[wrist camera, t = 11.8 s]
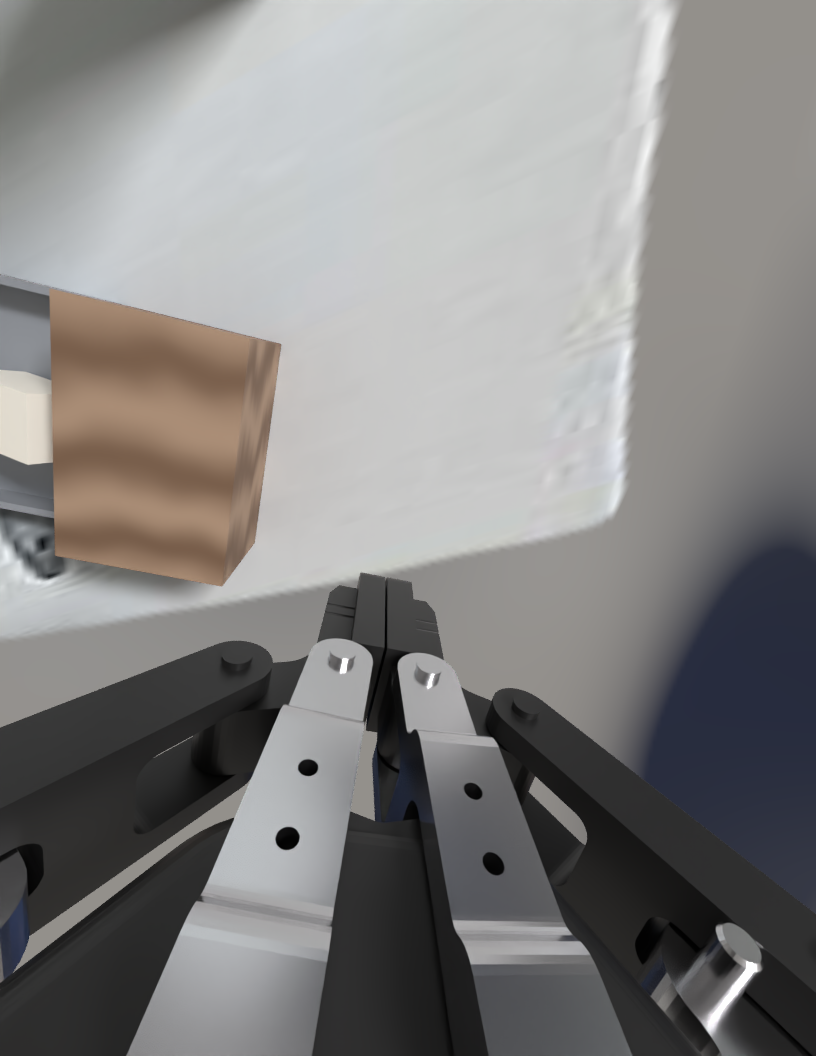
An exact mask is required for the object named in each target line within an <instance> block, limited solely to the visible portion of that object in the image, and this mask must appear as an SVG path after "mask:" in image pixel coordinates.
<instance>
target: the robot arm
mask: <svg viewBox="0 0 816 1056" xmlns="http://www.w3.org/2000/svg"><path fill="white" fill-rule="evenodd" d="M366 718H367V724H366V730H367V731H372V732H377V743H376V747H375V751H374V754H373V758H372V771H373V791H374V812H375V821H373V820H371V819H368V818H366V817H363V816H360V815H358V814H355V813H353V812H350V809H351V803H352V797H353V791H354V784H355V779H356V773H357V766H358V761H359V755H360V749H361V742H362V737H363V730H364V725H365V721H366ZM191 736H193V737H192V738H190V739H188V740H186V739H187V738H189V737H191ZM184 740H186V741H184ZM182 741H184V742H183V743H181V744H179V745H177V746H175V747H173V746H174V745H176V744H178V743H180V742H182ZM171 747H173V748H172V749H169V748H171ZM167 749H169V750H168V751H166V752H164V753H162V754H160V753H161V752H163V751H165V750H167ZM158 754H160V755H158ZM156 755H158V756H157V757H155V756H156ZM154 757H155V758H154ZM535 776H536V777H537V778H538V779H539V780H540V781H541V782H543V783H544V784H545V785H546V786H547V787H548V788H549V789H550V790H551V791H552V792H553V793H554V794H555V795H557V796H558V797H559V798H560V799H561V800H562V801H563V802H564V803H565V804H566V805H567V806H568V807H570V808H571V809H572V810H573V811H574V812H575V813H576V814H577V815H578V816H579V817H580V819H581V820H582V822H583V824H584V826H585V828H586V831H587V843H586V845H584V844H582V843H581V842H580V841H579V840H578V839H577V838H576V837H574V836H573V834H571V832H569V831H568V830H567V829H566V828H565V827H564V826H563V825H562V824H561V823H560V822H559V821H558V820H557V819H556V818H555V817H554V816H553V815H552V814H551V813H550V812H549V811H548V810H547V809H546V808H545V807H544V806H542V805H541V804H540V803H539V802H538V801H537V800H536V799H535V798H534V797H533V796H532V795H531V794H530V793H529V792H528V791H529V789H530V787H531V784H532V782H533V780H534V778H535ZM250 779H251V781H250V783H249V785H248V788H247V790H246V792H245V795H244V797H243V799H242V802H241V804H240V807H239V809H238V811H237V814H236V816H235V818H232V819H229V820H226V821H223V822H220V823H218V824H215V825H213V826H211V827H209V828H207V829H205V830H203V831H201V832H199V833H198V834H196V835H194V836H193V837H191V838H189V839H188V840H186V841H185V842H183V843H182V844H180V845H179V846H178V847H176V848H175V849H174V850H172V851H171V852H170V853H168V854H167V855H166V856H165V857H163V858H162V859H161V860H160V861H158V862H157V863H156V864H154V865H153V866H152V867H150V868H149V869H148V870H146V871H145V872H144V873H143V874H141V875H140V876H139V877H137V878H136V879H135V880H133V881H132V882H131V883H129V884H128V885H127V886H126V887H124V888H123V889H122V890H120V891H119V892H118V893H116V894H115V895H114V896H113V897H111V898H110V899H109V900H107V901H106V902H105V903H103V904H102V905H101V906H100V907H98V908H97V909H96V910H94V911H93V912H92V913H90V914H89V915H88V916H87V917H85V918H84V919H83V920H81V921H80V922H79V923H77V924H76V925H75V926H73V927H72V928H71V929H70V930H68V931H67V932H66V933H65V934H63V935H62V936H60V937H59V938H58V939H57V940H55V941H54V942H53V943H51V944H50V945H49V946H47V947H46V948H45V949H44V950H42V951H41V952H40V953H38V954H37V955H36V956H34V957H33V958H32V959H31V960H29V961H28V962H27V963H25V964H24V965H23V966H21V967H20V968H19V969H18V970H16V971H15V972H14V970H15V969H16V966H17V965H18V964H19V962H20V960H21V958H22V956H23V954H24V952H25V950H26V947H27V944H28V941H29V936H30V935H32V934H33V933H35V932H36V931H37V930H39V929H40V928H42V927H43V926H45V925H46V924H47V923H49V922H50V921H52V920H53V919H55V918H56V917H57V916H59V915H60V914H61V913H63V912H64V911H66V910H67V909H69V908H70V907H72V906H73V905H74V904H76V903H77V902H79V901H80V900H82V899H83V898H85V897H86V896H87V895H89V894H90V893H92V892H93V891H95V890H96V889H97V888H99V887H100V886H102V885H103V884H105V883H106V882H107V881H109V880H110V879H111V878H113V877H115V876H116V875H117V874H119V873H120V872H122V871H123V870H124V869H126V868H127V867H128V866H130V865H132V864H133V863H134V862H136V861H137V860H139V859H140V858H142V857H143V856H144V855H146V854H147V853H149V852H150V851H152V850H153V849H154V848H156V847H157V846H158V845H160V844H162V843H163V842H164V841H166V840H167V839H169V838H170V837H171V836H173V835H174V834H176V833H177V832H179V831H180V830H182V829H183V828H184V827H186V826H187V825H188V824H190V823H192V822H193V821H194V820H196V819H197V818H199V817H200V816H202V815H203V814H204V813H206V812H207V811H208V810H210V809H211V808H213V807H214V806H216V805H217V804H219V803H220V802H221V801H223V800H224V799H226V798H227V797H229V796H230V795H232V794H233V793H234V792H236V791H237V790H239V789H240V788H241V787H243V786H244V785H245V784H247V783H248V781H249V780H250ZM13 972H14V973H13ZM0 1056H816V914H815V913H814V912H812V911H811V910H810V909H809V908H807V907H806V906H805V905H803V904H802V903H801V902H800V901H798V900H797V899H796V898H794V897H793V896H792V895H790V894H789V893H788V892H787V891H786V890H784V889H783V888H782V887H780V886H779V885H777V884H776V883H775V882H774V881H773V880H771V879H770V878H769V877H768V876H766V875H765V874H764V873H762V872H761V871H760V870H759V869H757V868H756V867H755V866H753V865H752V864H751V863H750V862H748V861H747V860H746V859H744V858H743V857H742V856H741V855H739V854H738V853H737V852H735V851H734V850H733V849H732V848H730V847H729V846H728V845H726V844H725V843H724V842H723V841H721V840H720V839H719V838H717V837H716V836H715V835H714V834H712V833H711V832H710V831H709V830H707V829H706V828H705V827H703V826H702V825H701V824H700V823H698V822H697V821H695V820H694V819H693V818H692V817H690V816H689V815H688V814H687V813H685V812H684V811H683V810H682V809H680V808H679V807H678V806H676V805H675V804H674V803H673V802H671V801H670V800H669V799H667V798H666V797H665V796H664V795H662V794H661V793H660V792H658V791H657V790H656V789H655V788H653V787H652V786H651V785H650V784H648V783H647V782H646V781H644V780H643V779H642V778H641V777H639V776H638V775H636V774H635V773H634V772H633V771H631V770H630V769H629V768H628V767H626V766H625V765H624V764H623V763H621V762H620V761H619V760H617V759H616V758H615V757H613V756H612V755H611V754H610V753H608V752H607V751H606V750H605V749H603V748H602V747H601V746H599V745H598V744H597V743H596V742H594V741H593V740H592V739H591V738H589V737H588V736H586V735H585V734H584V733H583V732H581V731H580V730H579V729H578V728H576V727H575V726H574V725H572V724H571V723H570V722H569V721H567V720H566V719H565V718H564V717H562V716H561V715H560V714H558V713H557V712H556V711H555V710H553V709H552V708H551V707H549V706H548V705H547V704H546V703H544V702H543V701H542V700H540V699H539V698H537V697H536V696H534V695H532V694H530V693H528V692H526V691H522V690H519V689H513V688H505V689H501V690H499V691H498V692H496V693H495V695H494V696H493V699H492V701H490V700H488V699H485V698H483V697H480V696H478V695H475V694H473V693H471V692H469V691H467V690H465V689H463V688H462V687H461V686H460V683H459V680H458V677H457V674H456V672H455V671H454V669H453V668H452V667H451V666H450V665H449V664H448V663H447V662H445V661H444V659H443V653H442V648H441V643H440V637H439V634H438V627H437V622H436V616H435V612H434V611H433V610H432V608H431V607H430V606H429V605H428V604H427V602H425V601H419V600H414V599H413V591H412V583H411V582H408V581H403V580H398V579H392V578H386V581H385V577H382V576H377V575H372V574H366V573H360V577H359V581H358V586H357V589H356V588H350V587H345V586H340V585H339V586H338V587H337V588H335V589H334V590H333V591H331V592H330V595H329V598H328V603H327V606H326V610H325V614H324V618H323V622H322V626H321V630H320V634H319V638H318V642H317V644H315V645H314V647H313V648H312V649H311V651H310V654H309V655H308V656H306V657H304V658H302V659H299V660H296V661H291V662H278V663H273V662H272V657H271V655H270V654H269V652H268V651H266V649H264V648H263V647H261V646H259V645H257V644H254V643H250V642H245V641H228V642H223V643H220V644H217V645H214V646H211V647H209V648H206V649H203V650H201V651H198V652H196V653H193V654H190V655H188V656H185V657H183V658H180V659H177V660H175V661H172V662H170V663H167V664H165V665H162V666H159V667H157V668H154V669H151V670H149V671H146V672H144V673H141V674H139V675H136V676H134V677H131V678H128V679H126V680H123V681H120V682H118V683H115V684H112V685H110V686H107V687H105V688H102V689H99V690H97V691H94V692H92V693H89V694H86V695H84V696H81V697H79V698H76V699H74V700H71V701H68V702H66V703H63V704H61V705H58V706H55V707H53V708H51V709H48V710H45V711H42V712H40V713H37V714H34V715H32V716H30V717H27V718H24V719H22V720H19V721H16V722H14V723H11V724H9V725H6V726H3V727H1V728H0Z"/></svg>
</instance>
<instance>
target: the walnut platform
mask: <svg viewBox="0 0 816 1056" xmlns="http://www.w3.org/2000/svg"><path fill="white" fill-rule="evenodd" d="M49 295H50V341H51V388H52V435H53V481H54V528H55V556H60V557H65V558H71V559H76V560H82V561H87V562H92V563H98V564H103V565H109V566H114V567H119V568H125V569H130V570H136V571H141V572H147V573H152V574H157V575H163V576H168V577H174V578H179V579H185V580H190V581H195V582H201V583H206V584H212V585H217V586H223V584H224V583H225V582H226V580H227V579H228V578H229V576H230V575H231V574H232V572H233V571H234V570H235V568H236V567H237V566H238V564H239V563H240V562H241V560H242V559H243V558H244V556H245V555H246V554H247V552H248V551H249V550H250V548H251V547H252V546H253V544H254V543H255V536H256V528H257V521H258V514H259V506H260V499H261V491H262V484H263V476H264V469H265V461H266V454H267V446H268V439H269V432H270V424H271V417H272V409H273V402H274V394H275V387H276V379H277V372H278V364H279V357H280V349H281V344H278V343H274V342H270V341H266V340H262V339H258V338H254V337H250V336H246V335H242V334H238V333H234V332H230V331H226V330H222V329H218V328H214V327H210V326H206V325H202V324H198V323H194V322H190V321H186V320H182V319H178V318H174V317H170V316H166V315H162V314H158V313H154V312H150V311H146V310H142V309H138V308H134V307H130V306H125V305H121V304H117V303H112V302H108V301H103V300H99V299H94V298H90V297H85V296H81V295H76V294H72V293H67V292H63V291H59V290H54V289H50V288H49Z"/></svg>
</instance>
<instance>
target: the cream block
mask: <svg viewBox="0 0 816 1056" xmlns="http://www.w3.org/2000/svg"><path fill="white" fill-rule="evenodd" d="M0 454H2V455H5V456H7V457H10V458H12V459H14V460H17V461H19V462H22V463H24V464H27V465H31V464H41V463H51V462H53V435H52V388H51V380H49V379H46V378H43V377H40V376H37V375H34V374H31V373H28V372H23V371H9V370H0Z"/></svg>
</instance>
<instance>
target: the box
mask: <svg viewBox="0 0 816 1056" xmlns="http://www.w3.org/2000/svg"><path fill="white" fill-rule="evenodd" d="M49 288H50V289H54V290H59V291H63V292H67V293H72V294H76V295H81V296H85V297H90V296H86V295H82V294H78V293H74V292H70V291H66V290H62V289H58V288H54V287H50V286H46V285H42V284H37V283H33V282H29V281H25V280H21V279H17V278H13V277H9V276H5V275H1V274H0V370H9V371H23V372H28V373H31V374H34V375H37V376H40V377H43V378H46V379H49V380H51V341H50V295H49ZM90 298H94V297H90ZM94 299H98V298H94ZM99 300H102V299H99ZM103 301H106V300H103ZM108 302H110V301H108ZM112 303H114V302H112ZM117 304H118V303H117ZM121 305H122V304H121ZM0 508H3V509H8V510H13V511H19V512H24V513H29V514H34V515H39V516H44V517H50V518H54V481H53V462H51V463H41V464H31V465H27V464H24V463H22V462H19V461H17V460H14V459H12V458H10V457H7V456H5V455H2V454H0Z"/></svg>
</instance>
